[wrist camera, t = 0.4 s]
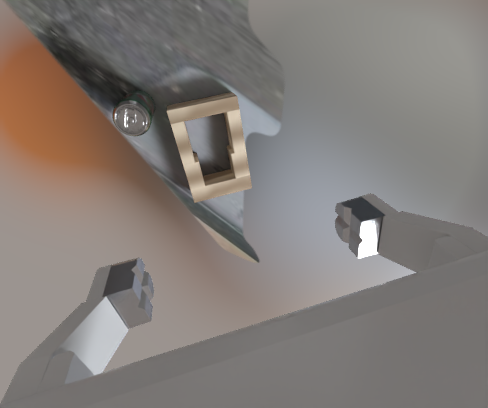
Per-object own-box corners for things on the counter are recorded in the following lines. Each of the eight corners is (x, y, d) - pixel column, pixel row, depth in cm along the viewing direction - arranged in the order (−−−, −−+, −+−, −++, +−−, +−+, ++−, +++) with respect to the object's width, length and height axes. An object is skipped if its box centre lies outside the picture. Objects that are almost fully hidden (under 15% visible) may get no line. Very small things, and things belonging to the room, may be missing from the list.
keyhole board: (167, 105, 48) (166, 110, 43) (231, 92, 49) (237, 96, 45) (192, 191, 57) (194, 202, 53) (246, 178, 59) (251, 188, 54)
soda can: (126, 118, 47) (113, 137, 37) (122, 88, 45) (108, 99, 35) (156, 120, 48) (151, 138, 38) (154, 90, 46) (149, 102, 36)
